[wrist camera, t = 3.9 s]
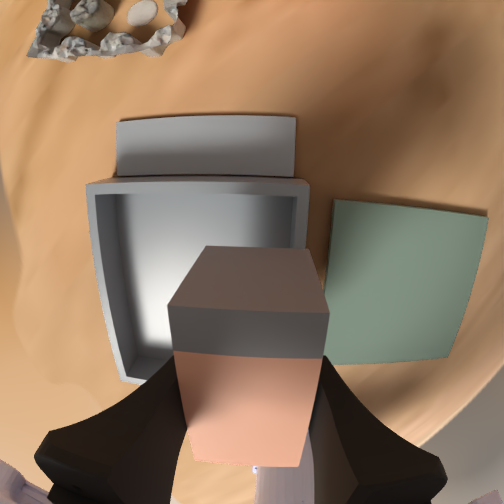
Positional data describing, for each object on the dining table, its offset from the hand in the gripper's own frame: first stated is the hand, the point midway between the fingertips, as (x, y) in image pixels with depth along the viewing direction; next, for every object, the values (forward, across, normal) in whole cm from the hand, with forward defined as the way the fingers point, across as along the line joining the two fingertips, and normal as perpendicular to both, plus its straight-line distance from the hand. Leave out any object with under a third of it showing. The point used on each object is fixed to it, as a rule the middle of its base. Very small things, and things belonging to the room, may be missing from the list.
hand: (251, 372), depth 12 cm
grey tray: (+9, +4, 0) cm, 10 cm away
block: (+3, 0, 0) cm, 3 cm away
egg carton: (+9, +10, -18) cm, 23 cm away
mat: (+9, -10, +1) cm, 14 cm away
